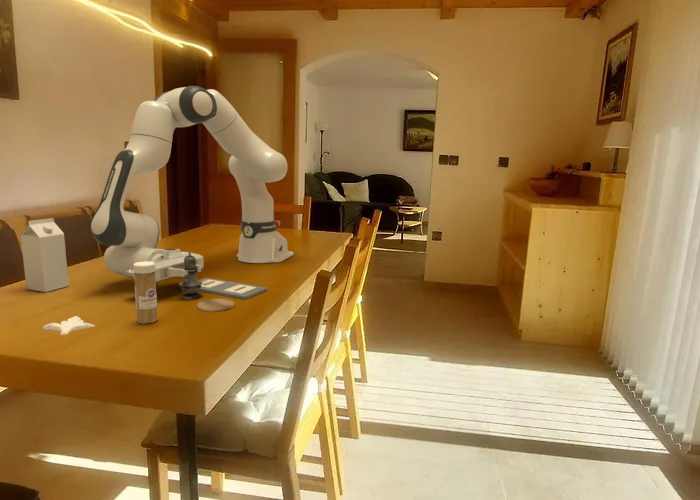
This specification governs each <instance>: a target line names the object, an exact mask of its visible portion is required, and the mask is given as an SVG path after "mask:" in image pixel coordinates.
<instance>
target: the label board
mask: <svg viewBox="0 0 700 500" xmlns="http://www.w3.org/2000/svg"><path fill="white" fill-rule="evenodd" d="M197 280H198V281H200V282H202V285H201V288H200V290H199V291H198V292H200V293H201V292H202V293H206V294H207V293H208V294H211V295H212V294H213V295H218V296H222V297H229V298H234V299H240V300H245V299H246V300H248V299H251V298H252V296H253V297H255V296H257V294H258V295H260V294H262V293H261V292H263V293H264V291H265V292H267V291H268V287H265V286H259V285H252V284H246V283H240V282H235V281H230V280H229V281H228V280H223V279H222V280H221V279H216V278H210V277H204V278H201V279H197ZM259 293H260V294H259ZM254 295H255V296H254ZM250 297H251V298H250Z"/></svg>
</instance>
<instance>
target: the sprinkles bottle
mask: <svg viewBox="0 0 700 500" xmlns="http://www.w3.org/2000/svg"><path fill="white" fill-rule="evenodd" d="M155 271H156V266H155V263H154V262H149V261H145V262H137V263H134V264H133V272H134V275H135V279H134V295H135V298H134V299H135V309H136V322H137V323H138V324H144V325H145V324H152V323H155V322H157V321H158V319H159V317H158V296H157V286H156V285H157V284H156V283H157V281H155Z"/></svg>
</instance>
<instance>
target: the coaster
mask: <svg viewBox="0 0 700 500" xmlns="http://www.w3.org/2000/svg"><path fill="white" fill-rule="evenodd" d="M235 304H236V303H235V301H234V300H232V299H229V298H221V297H220V298H209V299H204V300H201V301H199V302H197V304H196V307H197V310H199V311H201V312H202V311H203V312H210V313H215V312H224V311H228V310H230V309H232V308H234V307H235V306H236V305H235Z"/></svg>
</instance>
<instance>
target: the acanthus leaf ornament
mask: <svg viewBox="0 0 700 500" xmlns="http://www.w3.org/2000/svg"><path fill="white" fill-rule="evenodd" d="M94 327H96V325H95V324H92V323H88V322H84V320H82V318H81V317H79V316H77V315H75V316H73V317H70V318H68V319H67V320H62V321H61V322H60V323H58V322H50V323H47V324H45V325H43V327H42V330H48V331H58V332H59V335H61V336H65V335H68V334H69V333H70V332H73V331H77V330H78V331H79V330H85V329H88V328H94Z"/></svg>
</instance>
